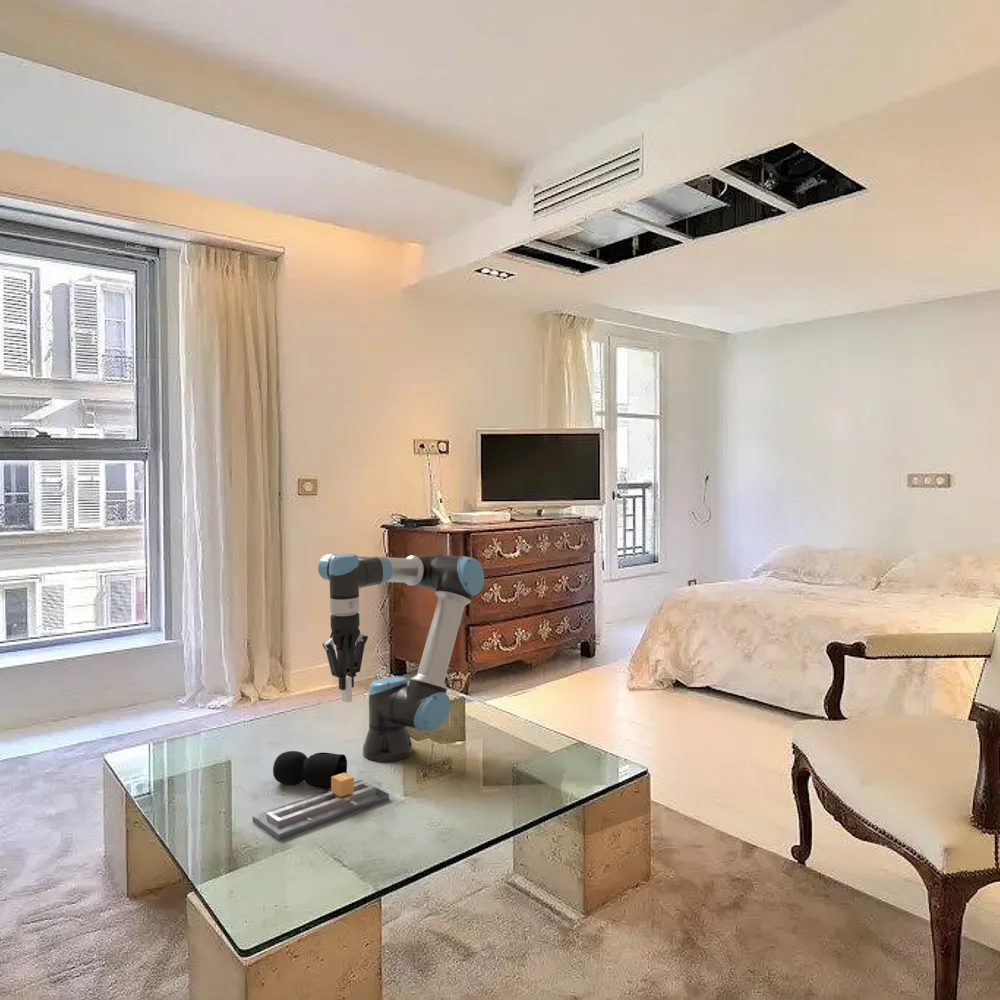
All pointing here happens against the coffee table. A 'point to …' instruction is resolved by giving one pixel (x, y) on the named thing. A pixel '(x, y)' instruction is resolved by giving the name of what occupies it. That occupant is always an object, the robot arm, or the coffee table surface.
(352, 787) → the fader knob
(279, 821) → the fader panel
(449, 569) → the robot arm
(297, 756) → the black hourglass-shaped sleeve
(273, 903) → the coffee table surface
